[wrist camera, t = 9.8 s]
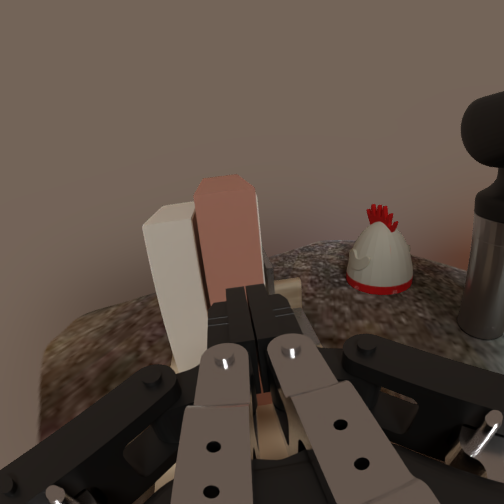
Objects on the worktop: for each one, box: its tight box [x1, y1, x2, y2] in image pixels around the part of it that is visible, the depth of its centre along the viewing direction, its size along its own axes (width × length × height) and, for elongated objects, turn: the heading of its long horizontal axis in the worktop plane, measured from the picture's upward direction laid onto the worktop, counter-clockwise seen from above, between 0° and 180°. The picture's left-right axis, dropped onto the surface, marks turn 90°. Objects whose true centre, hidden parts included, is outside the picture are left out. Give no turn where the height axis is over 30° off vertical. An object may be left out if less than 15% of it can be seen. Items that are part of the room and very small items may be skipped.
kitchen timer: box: [346, 204, 413, 295], centre depth 53 cm, size 14×14×15 cm
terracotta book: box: [194, 174, 272, 406], centre depth 33 cm, size 18×5×22 cm, turn 7°
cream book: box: [142, 201, 211, 373], centre depth 37 cm, size 12×5×19 cm, turn 7°
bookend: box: [262, 247, 320, 346], centre depth 40 cm, size 10×6×12 cm, turn 7°
